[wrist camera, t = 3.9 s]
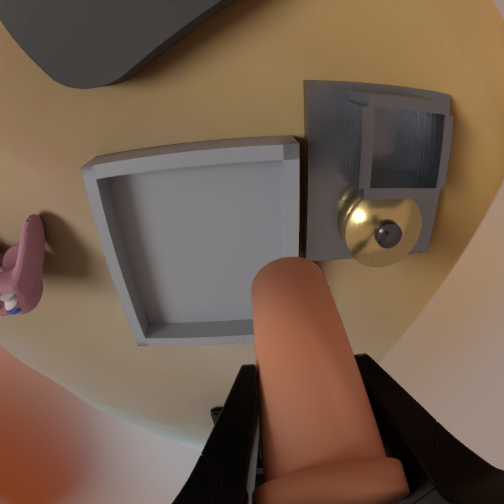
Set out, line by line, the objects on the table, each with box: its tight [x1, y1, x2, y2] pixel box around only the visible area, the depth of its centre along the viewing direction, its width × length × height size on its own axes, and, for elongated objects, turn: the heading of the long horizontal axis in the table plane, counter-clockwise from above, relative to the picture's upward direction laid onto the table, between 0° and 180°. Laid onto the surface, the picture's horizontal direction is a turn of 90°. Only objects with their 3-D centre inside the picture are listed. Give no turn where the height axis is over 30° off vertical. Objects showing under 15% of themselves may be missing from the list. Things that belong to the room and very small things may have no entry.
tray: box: [81, 136, 299, 346], centre depth 20 cm, size 14×12×2 cm
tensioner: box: [303, 80, 454, 267], centre depth 17 cm, size 11×9×4 cm
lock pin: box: [251, 257, 410, 504], centre depth 9 cm, size 4×4×9 cm
